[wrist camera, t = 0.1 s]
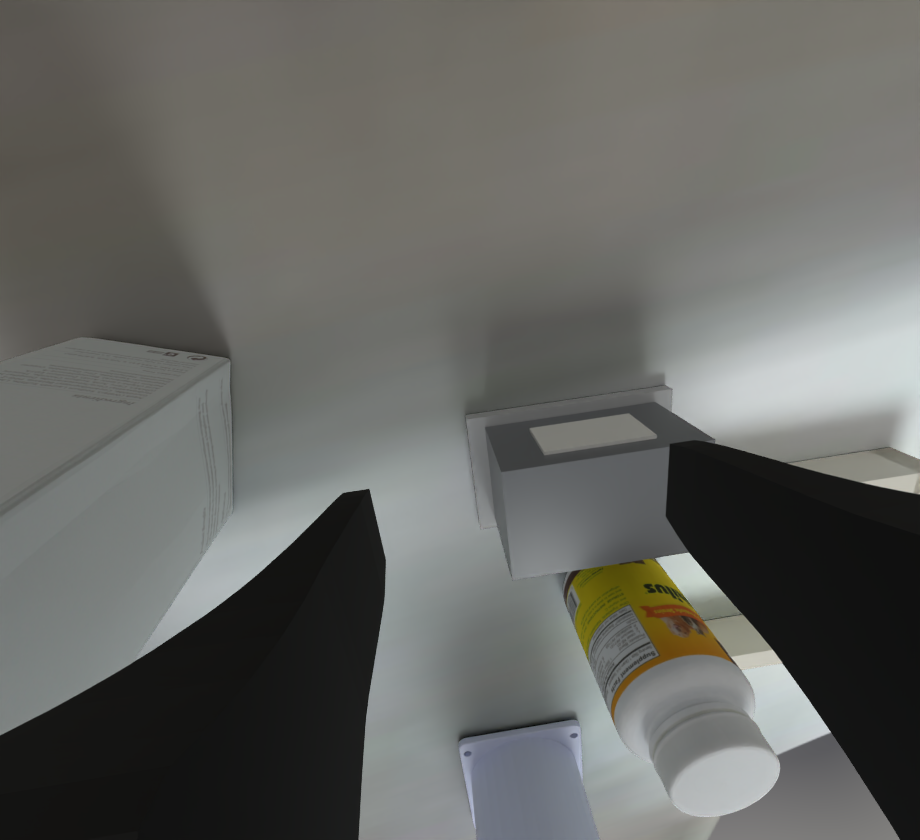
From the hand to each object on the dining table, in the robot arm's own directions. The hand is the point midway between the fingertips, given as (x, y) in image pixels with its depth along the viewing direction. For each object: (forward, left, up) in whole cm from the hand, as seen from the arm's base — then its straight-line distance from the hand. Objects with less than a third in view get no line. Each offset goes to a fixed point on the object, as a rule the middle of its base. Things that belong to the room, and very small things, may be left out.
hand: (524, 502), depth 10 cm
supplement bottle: (-12, -6, -10) cm, 17 cm away
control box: (-4, -4, -10) cm, 12 cm away
